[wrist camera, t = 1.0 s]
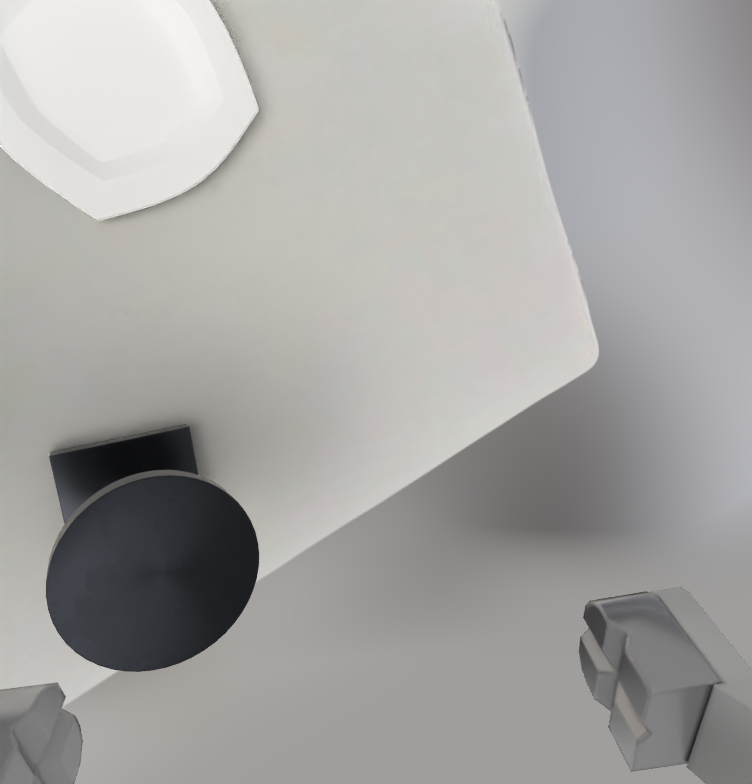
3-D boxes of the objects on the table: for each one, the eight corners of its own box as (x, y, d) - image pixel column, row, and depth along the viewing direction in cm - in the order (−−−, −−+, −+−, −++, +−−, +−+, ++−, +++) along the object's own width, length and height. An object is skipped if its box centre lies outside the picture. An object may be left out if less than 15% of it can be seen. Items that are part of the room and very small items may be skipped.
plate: (95, 259, 43) (96, 256, 41) (-133, 4, 35) (-144, -13, 34) (282, 126, 48) (290, 118, 47) (118, -118, 41) (120, -137, 39)
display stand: (213, 539, 49) (272, 627, 34) (72, 582, 44) (71, 705, 30) (191, 416, 47) (243, 454, 33) (40, 447, 42) (23, 507, 28)
